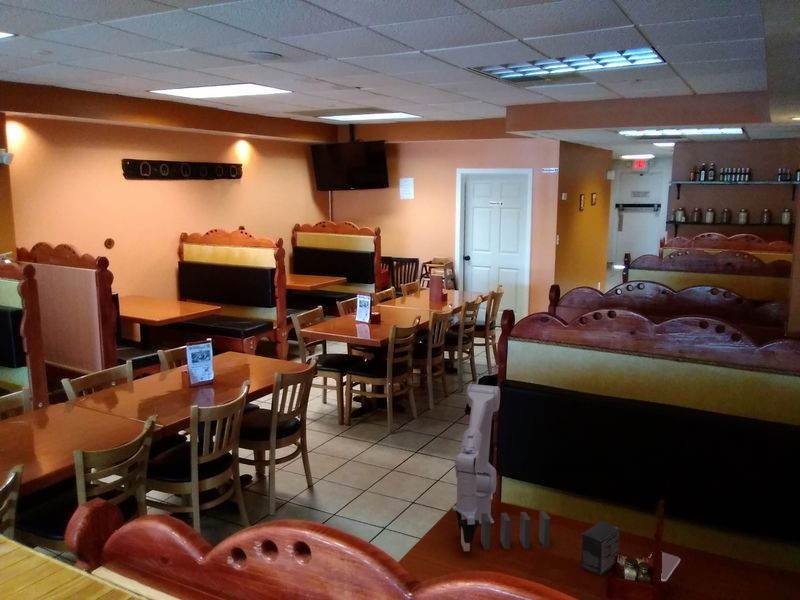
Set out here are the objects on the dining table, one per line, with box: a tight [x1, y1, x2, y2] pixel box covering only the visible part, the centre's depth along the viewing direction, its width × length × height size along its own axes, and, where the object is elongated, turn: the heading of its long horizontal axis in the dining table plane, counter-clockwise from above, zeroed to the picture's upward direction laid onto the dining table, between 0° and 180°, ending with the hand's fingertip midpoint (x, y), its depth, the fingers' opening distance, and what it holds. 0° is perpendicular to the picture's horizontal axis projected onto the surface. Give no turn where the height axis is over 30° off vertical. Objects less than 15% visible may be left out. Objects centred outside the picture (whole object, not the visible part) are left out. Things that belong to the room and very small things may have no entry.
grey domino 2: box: [519, 511, 532, 550], centre depth 196 cm, size 2×5×9 cm, turn 6°
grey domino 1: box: [480, 513, 492, 551], centre depth 194 cm, size 2×5×9 cm, turn 6°
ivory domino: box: [460, 515, 471, 552], centre depth 194 cm, size 2×5×9 cm, turn 6°
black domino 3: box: [499, 512, 512, 550], centre depth 195 cm, size 2×5×9 cm, turn 6°
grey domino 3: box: [538, 510, 551, 549], centre depth 196 cm, size 2×5×9 cm, turn 6°
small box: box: [581, 521, 621, 576], centre depth 185 cm, size 11×6×10 cm, turn 134°
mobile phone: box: [648, 551, 681, 582], centre depth 185 cm, size 8×1×15 cm
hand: (465, 535), depth 194 cm, fingers open, 7 cm apart
